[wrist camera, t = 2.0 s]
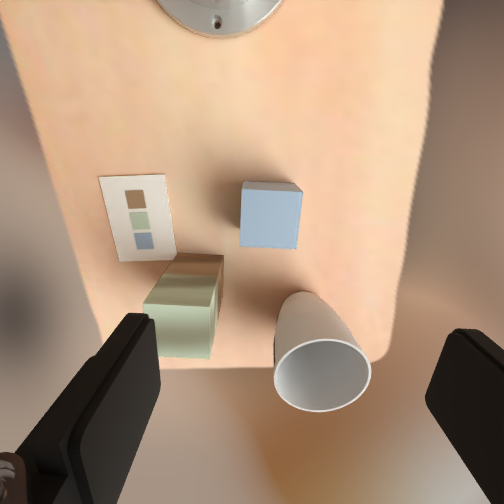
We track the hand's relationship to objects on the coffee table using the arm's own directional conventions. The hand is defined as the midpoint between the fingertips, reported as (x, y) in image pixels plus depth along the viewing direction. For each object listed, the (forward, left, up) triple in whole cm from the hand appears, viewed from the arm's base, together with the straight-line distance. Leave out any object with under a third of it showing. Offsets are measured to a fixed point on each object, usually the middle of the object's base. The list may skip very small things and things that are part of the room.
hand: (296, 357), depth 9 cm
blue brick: (0, 0, -21) cm, 21 cm away
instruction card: (+2, -13, -20) cm, 24 cm away
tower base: (+8, -7, -20) cm, 23 cm away
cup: (+12, +5, -21) cm, 24 cm away
